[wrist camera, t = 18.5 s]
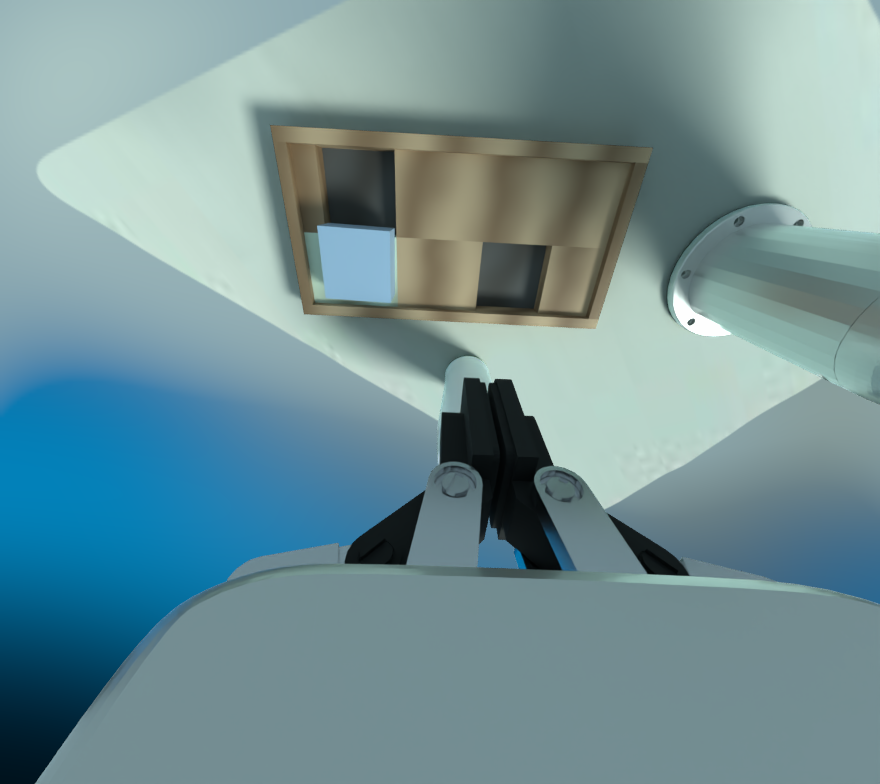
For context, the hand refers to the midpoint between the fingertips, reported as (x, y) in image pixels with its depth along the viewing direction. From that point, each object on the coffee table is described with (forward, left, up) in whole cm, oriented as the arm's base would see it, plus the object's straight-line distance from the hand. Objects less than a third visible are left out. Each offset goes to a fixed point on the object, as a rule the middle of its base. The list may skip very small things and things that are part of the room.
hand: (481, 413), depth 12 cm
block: (+9, -1, -23) cm, 25 cm away
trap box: (0, -3, -25) cm, 25 cm away
